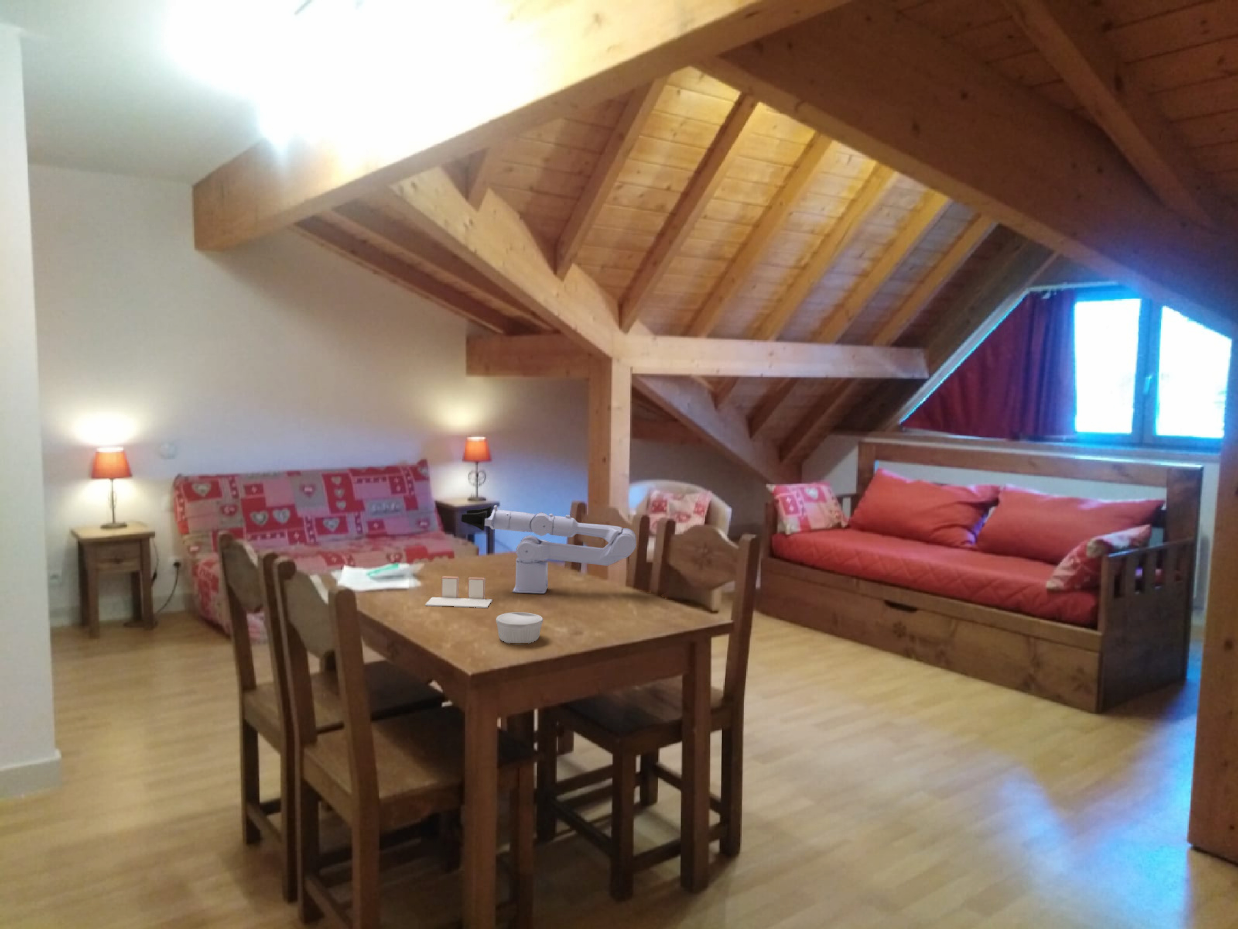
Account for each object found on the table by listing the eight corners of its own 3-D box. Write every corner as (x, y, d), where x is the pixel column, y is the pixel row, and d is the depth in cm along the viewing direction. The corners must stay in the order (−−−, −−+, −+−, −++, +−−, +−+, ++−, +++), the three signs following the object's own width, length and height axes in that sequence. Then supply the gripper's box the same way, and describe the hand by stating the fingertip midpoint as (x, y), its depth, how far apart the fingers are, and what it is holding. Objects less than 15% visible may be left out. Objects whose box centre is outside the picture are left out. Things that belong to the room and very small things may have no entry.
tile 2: (484, 598, 251) (485, 577, 251) (483, 600, 249) (484, 579, 249) (469, 598, 251) (469, 577, 251) (467, 599, 250) (468, 578, 249)
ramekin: (545, 633, 220) (545, 612, 219) (539, 647, 209) (539, 625, 208) (500, 631, 220) (500, 610, 219) (491, 645, 209) (492, 623, 208)
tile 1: (458, 597, 251) (458, 576, 251) (457, 599, 250) (457, 578, 249) (442, 597, 251) (442, 576, 251) (441, 598, 250) (441, 577, 249)
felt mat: (492, 600, 249) (492, 599, 249) (487, 608, 241) (487, 606, 241) (431, 598, 249) (431, 597, 249) (425, 605, 241) (425, 604, 241)
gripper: (514, 503, 267) (470, 499, 267) (508, 510, 253) (460, 505, 253) (512, 526, 268) (468, 522, 268) (505, 535, 253) (458, 530, 253)
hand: (464, 515), depth 260 cm, fingers open, 7 cm apart
